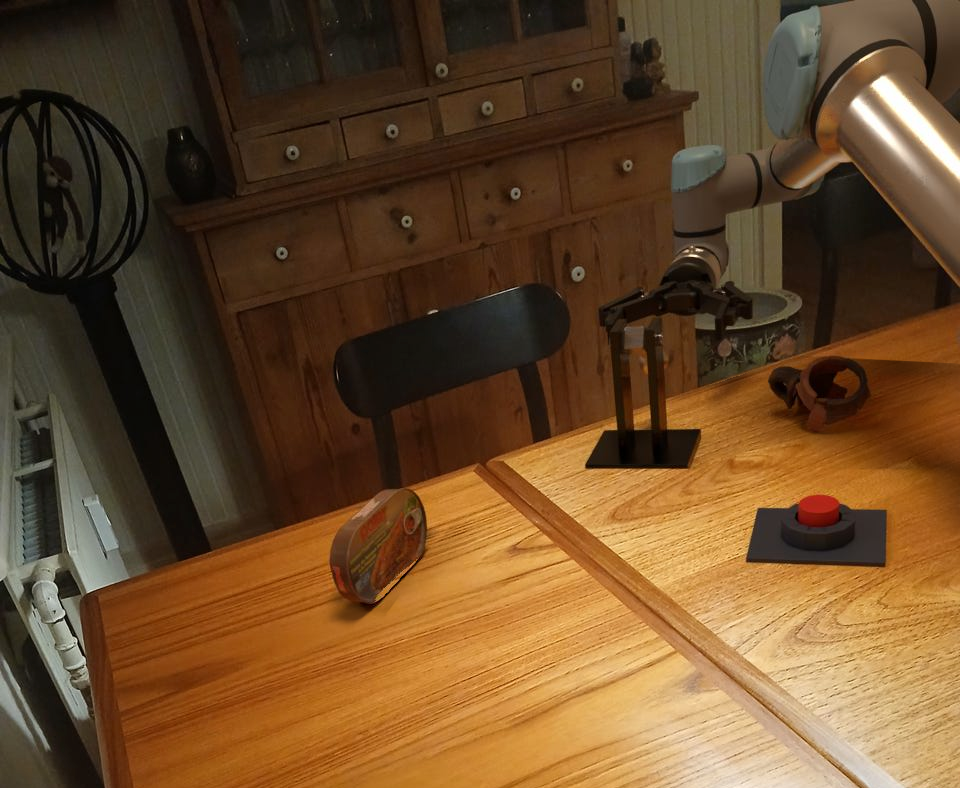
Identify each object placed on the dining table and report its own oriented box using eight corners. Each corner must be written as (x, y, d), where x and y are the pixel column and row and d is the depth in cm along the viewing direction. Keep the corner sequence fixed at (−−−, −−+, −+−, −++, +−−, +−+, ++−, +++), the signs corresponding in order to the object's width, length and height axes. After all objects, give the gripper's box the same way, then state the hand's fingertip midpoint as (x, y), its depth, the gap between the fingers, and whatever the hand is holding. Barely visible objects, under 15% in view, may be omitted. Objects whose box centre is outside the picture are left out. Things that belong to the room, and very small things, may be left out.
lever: (641, 379, 122) (642, 349, 122) (670, 378, 121) (671, 348, 121) (617, 354, 110) (619, 321, 109) (649, 353, 108) (651, 320, 108)
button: (839, 511, 93) (840, 494, 92) (837, 529, 90) (838, 512, 89) (799, 510, 94) (800, 494, 93) (796, 528, 91) (796, 512, 90)
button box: (885, 529, 96) (888, 492, 93) (883, 583, 88) (887, 544, 86) (757, 526, 100) (757, 491, 98) (746, 578, 92) (745, 540, 90)
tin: (363, 619, 97) (343, 545, 92) (337, 616, 98) (316, 542, 93) (434, 545, 107) (420, 474, 103) (410, 542, 109) (394, 473, 104)
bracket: (604, 438, 124) (593, 313, 115) (701, 437, 120) (697, 307, 111) (585, 473, 116) (572, 342, 108) (687, 474, 112) (682, 337, 103)
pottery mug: (868, 402, 122) (885, 357, 114) (846, 462, 118) (861, 420, 111) (773, 377, 125) (783, 332, 118) (748, 435, 122) (757, 392, 114)
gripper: (602, 261, 142) (564, 307, 126) (781, 248, 134) (765, 296, 117) (606, 313, 146) (570, 364, 130) (780, 304, 138) (765, 357, 122)
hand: (663, 332), depth 124 cm, fingers open, 13 cm apart
